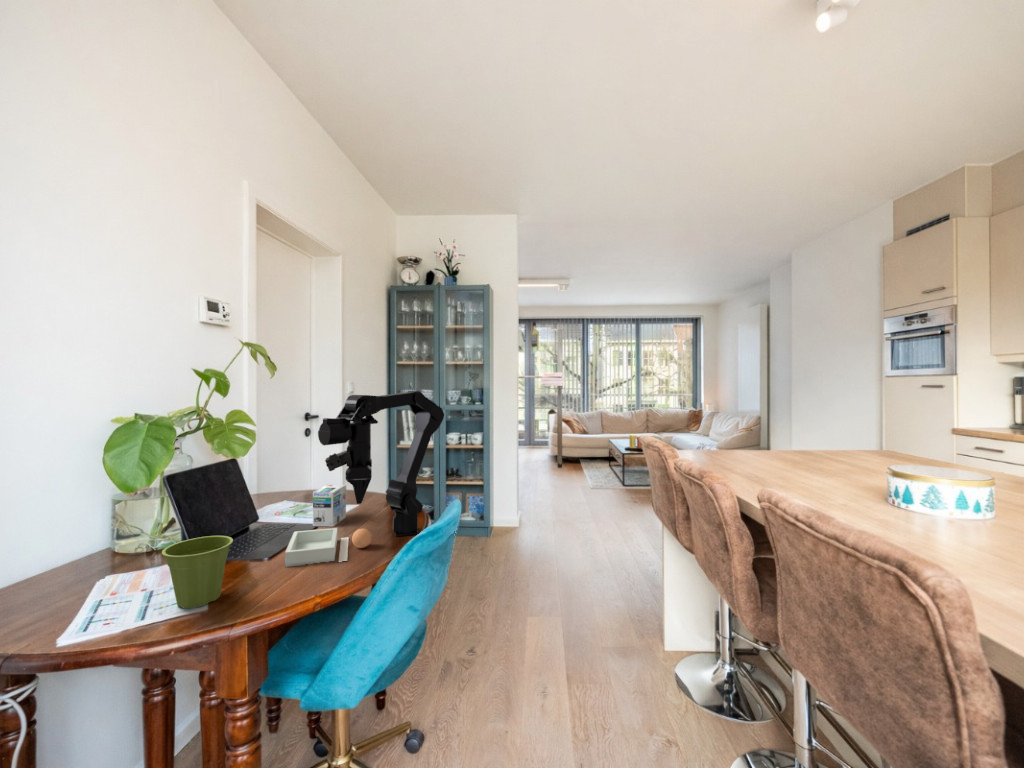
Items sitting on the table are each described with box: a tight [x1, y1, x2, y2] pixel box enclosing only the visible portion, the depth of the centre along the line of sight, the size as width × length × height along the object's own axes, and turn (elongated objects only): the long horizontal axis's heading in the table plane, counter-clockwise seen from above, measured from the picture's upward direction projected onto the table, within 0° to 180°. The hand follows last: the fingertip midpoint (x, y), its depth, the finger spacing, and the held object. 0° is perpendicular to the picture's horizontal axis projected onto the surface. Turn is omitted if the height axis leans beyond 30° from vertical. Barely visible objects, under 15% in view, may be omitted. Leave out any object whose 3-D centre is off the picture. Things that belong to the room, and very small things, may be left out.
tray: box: [284, 527, 338, 568], centre depth 118 cm, size 11×16×4 cm
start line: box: [338, 536, 350, 563], centre depth 120 cm, size 2×18×1 cm, turn 19°
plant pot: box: [161, 535, 234, 609], centre depth 91 cm, size 12×12×11 cm
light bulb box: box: [312, 484, 347, 528], centre depth 144 cm, size 11×7×11 cm, turn 179°
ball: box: [351, 528, 373, 549], centre depth 121 cm, size 5×5×5 cm
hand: (359, 499), depth 122 cm, fingers open, 9 cm apart
